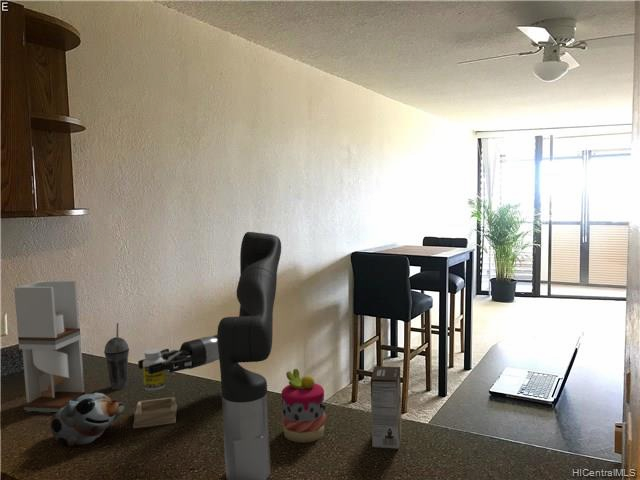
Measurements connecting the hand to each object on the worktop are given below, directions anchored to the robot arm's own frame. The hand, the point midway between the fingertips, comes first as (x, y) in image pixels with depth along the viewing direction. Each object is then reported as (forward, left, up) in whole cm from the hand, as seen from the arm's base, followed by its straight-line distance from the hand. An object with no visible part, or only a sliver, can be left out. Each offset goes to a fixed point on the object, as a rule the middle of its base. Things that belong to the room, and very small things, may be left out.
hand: (144, 367), depth 134 cm
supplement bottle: (+1, -2, -6) cm, 7 cm away
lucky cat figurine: (-5, +13, -14) cm, 20 cm away
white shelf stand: (+19, +27, -14) cm, 36 cm away
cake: (-20, -38, -14) cm, 45 cm away
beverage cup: (+28, +11, -14) cm, 33 cm away
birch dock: (+1, -2, -14) cm, 14 cm away
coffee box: (-29, -56, -14) cm, 65 cm away
